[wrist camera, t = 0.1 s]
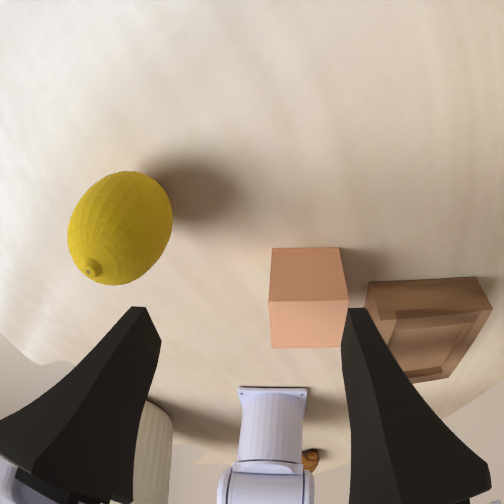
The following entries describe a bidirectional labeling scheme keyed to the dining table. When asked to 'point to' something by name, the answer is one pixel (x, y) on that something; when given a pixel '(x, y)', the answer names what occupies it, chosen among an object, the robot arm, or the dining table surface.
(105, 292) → the dining table surface
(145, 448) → the canister
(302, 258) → the block
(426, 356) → the walnut base
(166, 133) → the dining table surface
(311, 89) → the dining table surface
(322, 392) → the dining table surface
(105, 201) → the lemon
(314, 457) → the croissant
